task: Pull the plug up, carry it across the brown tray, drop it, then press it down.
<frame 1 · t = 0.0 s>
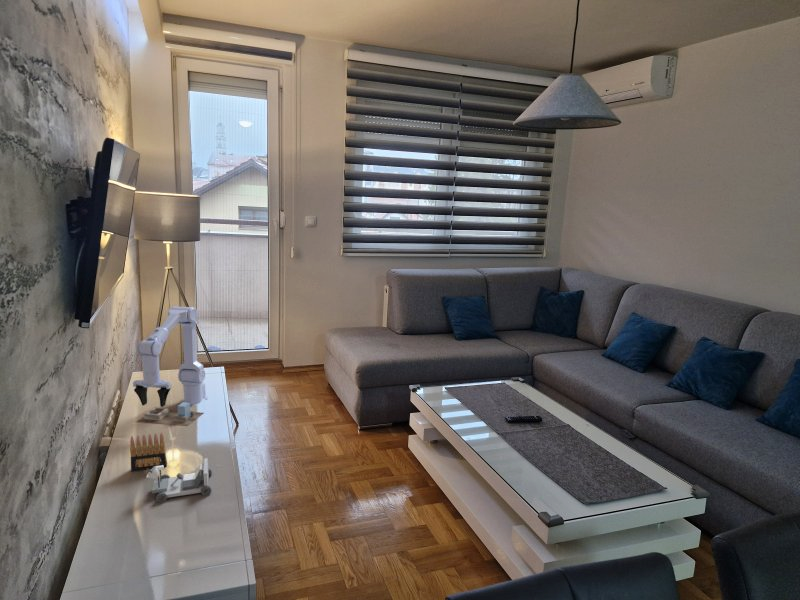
hand: (153, 405, 197), 10 cm above the tv stand, fingers open, 7 cm apart
ammunition clip: (149, 468, 171), on the tv stand
plug: (184, 418, 208), point 1 cm above the tv stand, touching brown tray
brown tray: (170, 418, 209), on the tv stand
toy car: (180, 490, 159), on the tv stand
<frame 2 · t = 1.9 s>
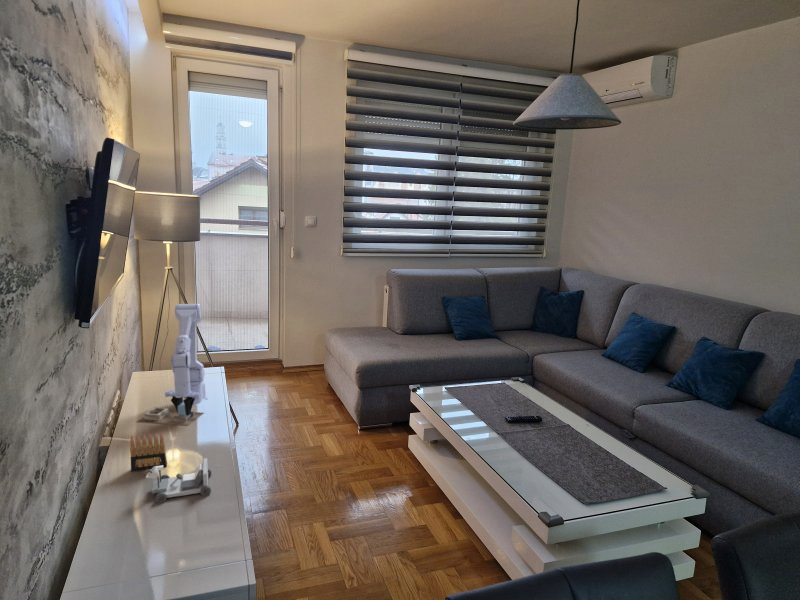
hand: (184, 414, 208), 2 cm above the tv stand, fingers closed on plug, 3 cm apart
plug: (184, 418, 208), point 1 cm above the tv stand, touching gripper, brown tray
everything else where it was.
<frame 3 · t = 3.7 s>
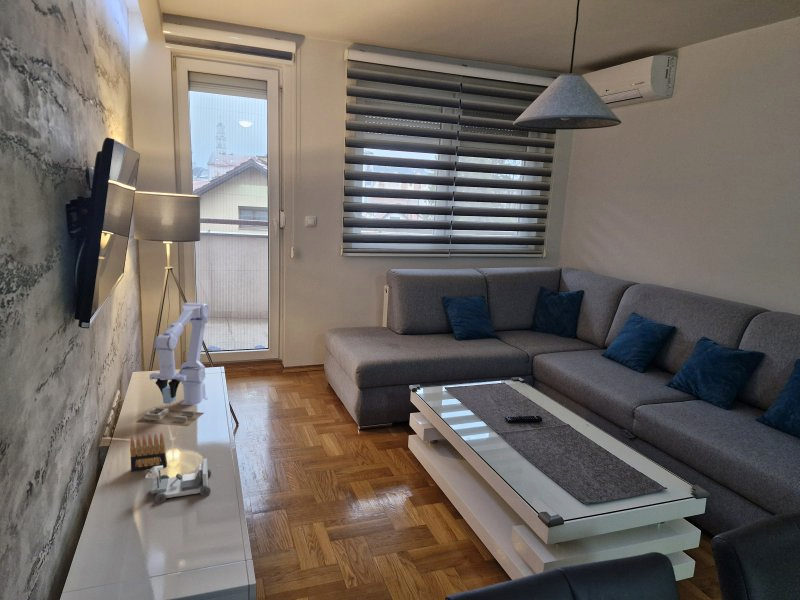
hand: (169, 396, 207), 9 cm above the tv stand, fingers closed on plug, 3 cm apart
plug: (169, 401, 208), point 7 cm above the tv stand, touching gripper
everything else where it was.
when the fingers open (3 cm above the tv stand, at t = 5.3 s): plug stays where it is, resting on brown tray.
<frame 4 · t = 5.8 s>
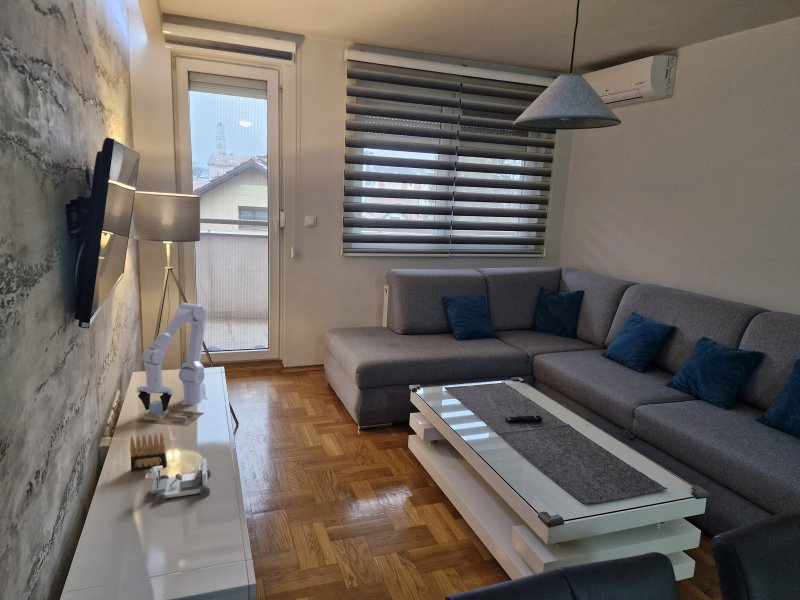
hand: (156, 409, 209), 3 cm above the tv stand, fingers open, 7 cm apart
plug: (156, 416, 210), point 1 cm above the tv stand, touching brown tray
everything else where it was.
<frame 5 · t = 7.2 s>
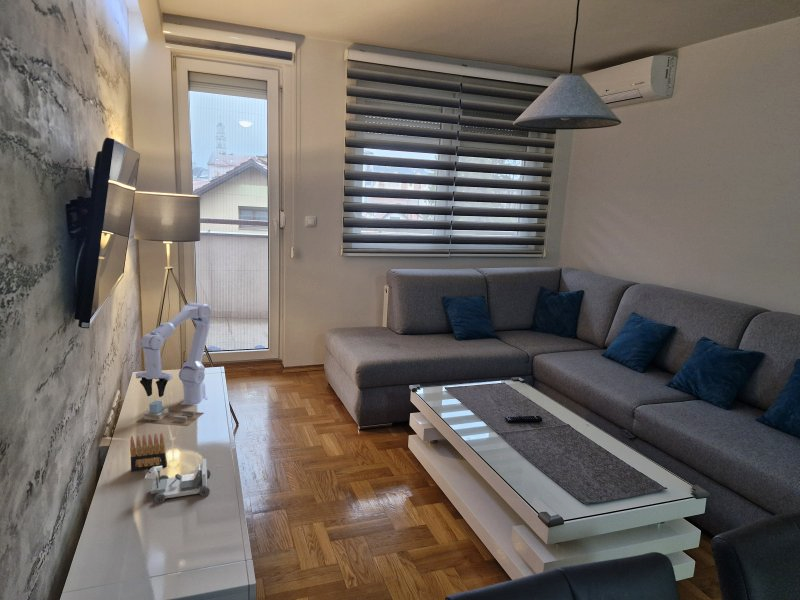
hand: (155, 395, 208), 9 cm above the tv stand, fingers open, 4 cm apart
nothing on the tv stand moved.
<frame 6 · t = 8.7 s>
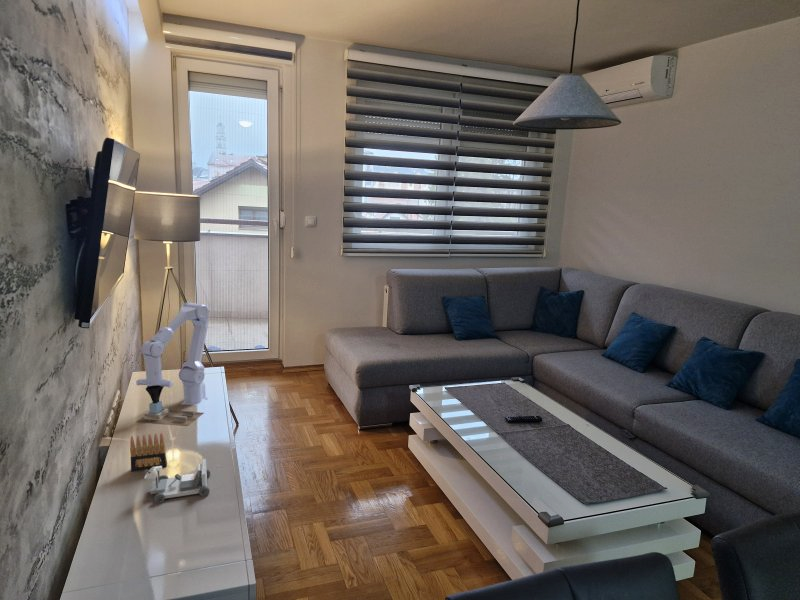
hand: (156, 402, 209), 6 cm above the tv stand, fingers closed, pressing on plug
plug: (156, 416, 210), point 1 cm above the tv stand, touching gripper, brown tray
everything else where it was.
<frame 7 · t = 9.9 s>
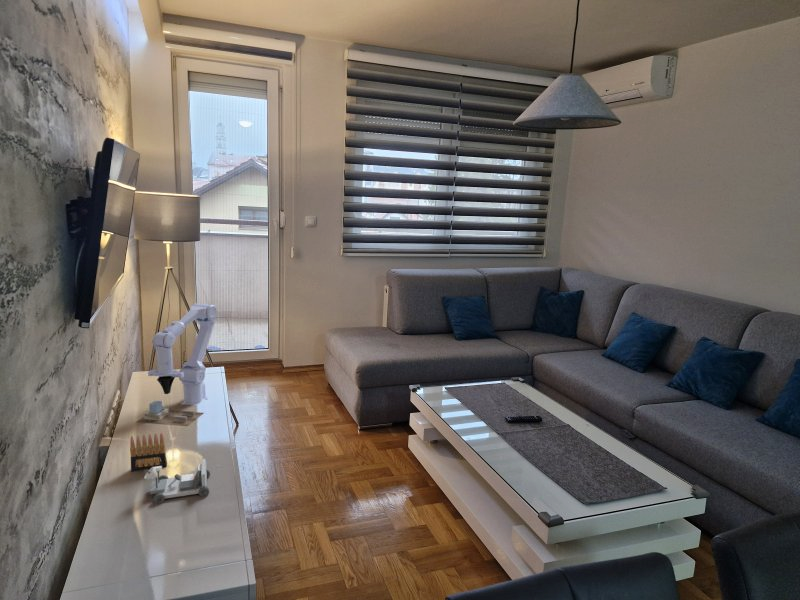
hand: (167, 393, 211), 9 cm above the tv stand, fingers closed
plug: (156, 416, 210), point 1 cm above the tv stand, touching brown tray
everything else where it was.
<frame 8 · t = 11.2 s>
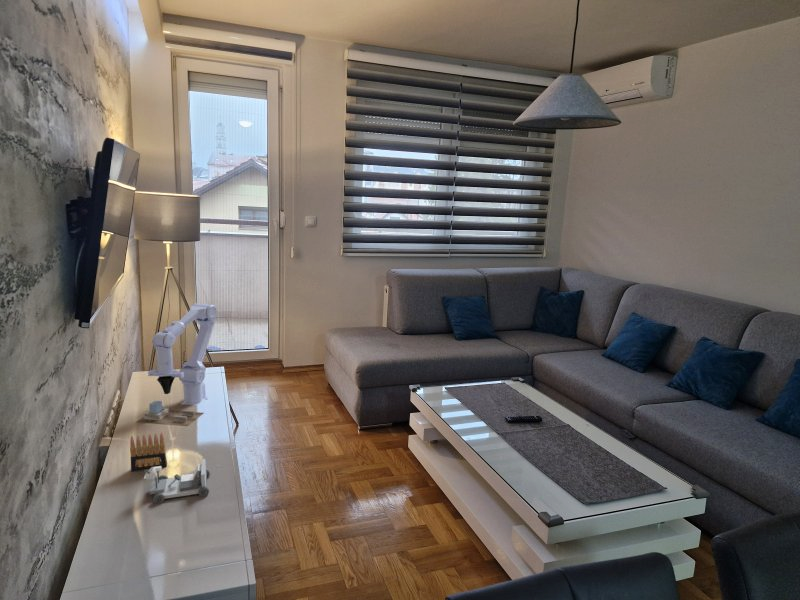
hand: (167, 393, 211), 9 cm above the tv stand, fingers closed
nothing on the tv stand moved.
at the end: plug 0.3 cm from the target spot on the brown tray, point 0.6 cm above the brown tray's base; plug tilted 0°; the gripper is holding nothing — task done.
